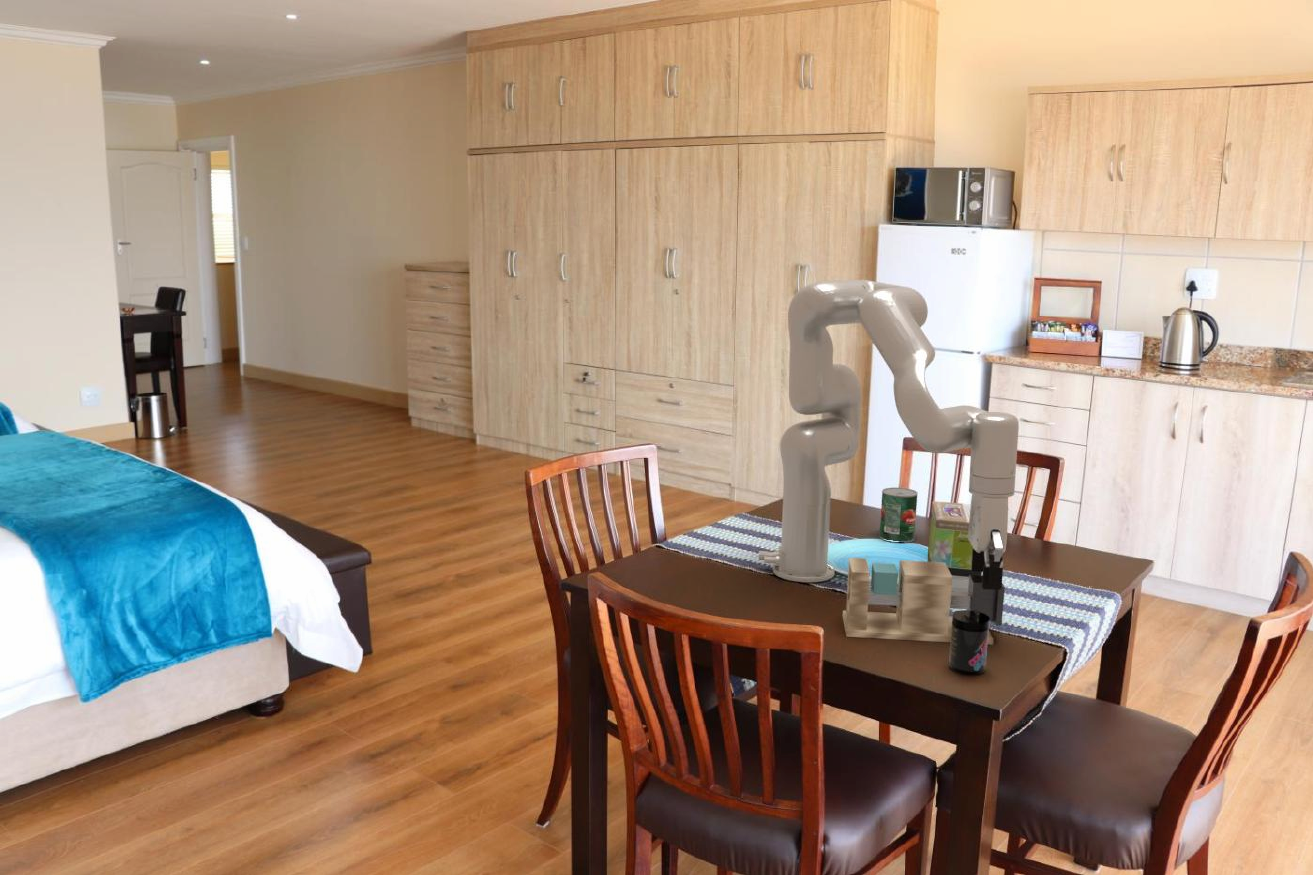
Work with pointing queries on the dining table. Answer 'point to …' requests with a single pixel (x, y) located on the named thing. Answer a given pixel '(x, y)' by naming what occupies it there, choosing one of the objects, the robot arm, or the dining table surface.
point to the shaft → (959, 599)
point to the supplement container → (969, 642)
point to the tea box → (952, 541)
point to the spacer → (884, 579)
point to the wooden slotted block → (903, 604)
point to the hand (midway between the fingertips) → (986, 579)
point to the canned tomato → (898, 514)
